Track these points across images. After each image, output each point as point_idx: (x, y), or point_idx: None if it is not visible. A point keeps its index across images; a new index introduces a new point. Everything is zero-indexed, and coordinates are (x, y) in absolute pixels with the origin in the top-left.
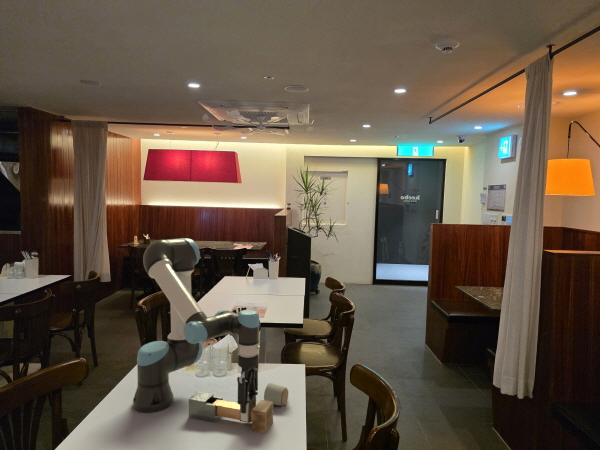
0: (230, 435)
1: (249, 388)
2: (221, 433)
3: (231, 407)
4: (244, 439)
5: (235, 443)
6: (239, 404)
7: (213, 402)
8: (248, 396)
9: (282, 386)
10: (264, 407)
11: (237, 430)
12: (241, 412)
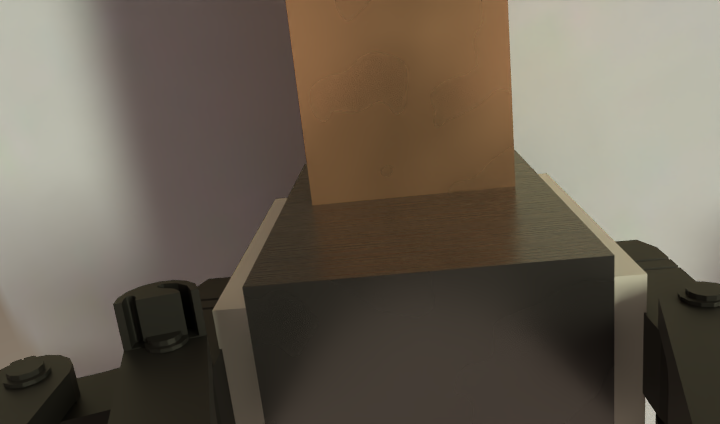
0: (99, 148)
1: (676, 421)
2: (76, 21)
3: (299, 9)
4: (117, 325)
5: (7, 278)
6: (467, 90)
7: None
8: (466, 393)
9: None
10: None
11: (227, 167)
12: (204, 289)
